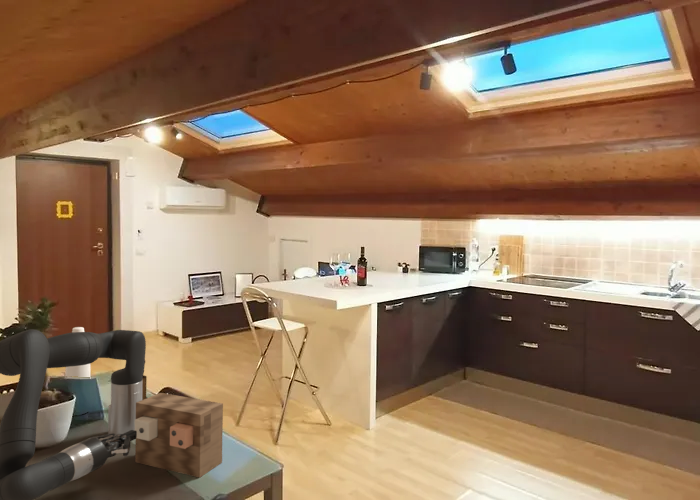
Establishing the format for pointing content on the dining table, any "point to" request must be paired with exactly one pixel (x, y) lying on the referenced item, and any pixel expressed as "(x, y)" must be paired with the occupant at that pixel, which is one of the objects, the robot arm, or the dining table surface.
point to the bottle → (82, 369)
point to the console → (186, 411)
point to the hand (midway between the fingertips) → (134, 433)
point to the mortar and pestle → (144, 387)
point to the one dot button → (146, 428)
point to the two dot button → (181, 435)
